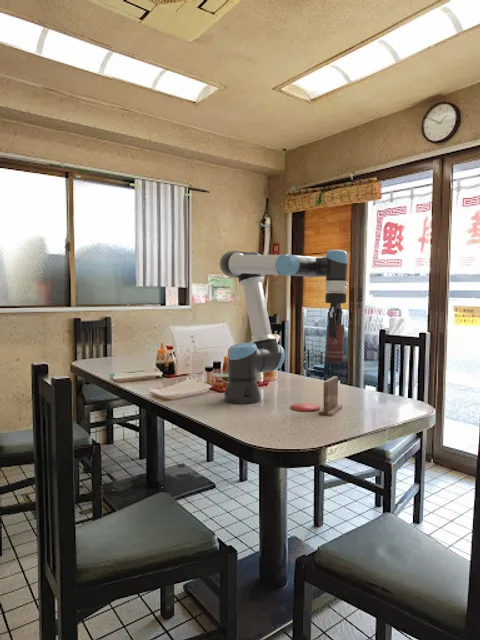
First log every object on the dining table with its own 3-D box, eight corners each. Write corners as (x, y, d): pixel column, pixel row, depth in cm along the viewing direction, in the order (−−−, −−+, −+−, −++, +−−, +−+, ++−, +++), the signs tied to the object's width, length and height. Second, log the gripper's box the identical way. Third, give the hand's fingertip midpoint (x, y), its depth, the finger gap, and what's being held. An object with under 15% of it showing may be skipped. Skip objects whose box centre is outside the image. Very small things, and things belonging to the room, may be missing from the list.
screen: (318, 414, 161) (318, 381, 161) (329, 406, 174) (329, 375, 173) (332, 416, 159) (332, 382, 159) (342, 407, 171) (342, 376, 171)
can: (344, 363, 162) (345, 324, 161) (326, 362, 163) (327, 324, 162) (343, 361, 167) (344, 324, 167) (326, 360, 169) (326, 323, 168)
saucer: (286, 409, 169) (286, 408, 169) (296, 403, 178) (296, 402, 178) (314, 412, 164) (314, 411, 164) (323, 406, 173) (323, 405, 173)
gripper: (341, 292, 156) (340, 359, 158) (350, 292, 168) (348, 354, 170) (321, 292, 160) (319, 357, 161) (330, 292, 171) (328, 353, 173)
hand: (334, 356), depth 165 cm, fingers closed
